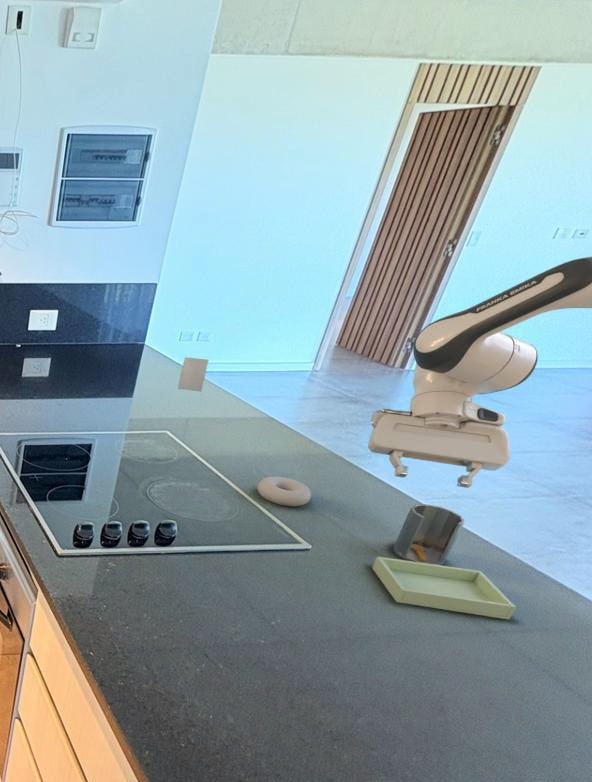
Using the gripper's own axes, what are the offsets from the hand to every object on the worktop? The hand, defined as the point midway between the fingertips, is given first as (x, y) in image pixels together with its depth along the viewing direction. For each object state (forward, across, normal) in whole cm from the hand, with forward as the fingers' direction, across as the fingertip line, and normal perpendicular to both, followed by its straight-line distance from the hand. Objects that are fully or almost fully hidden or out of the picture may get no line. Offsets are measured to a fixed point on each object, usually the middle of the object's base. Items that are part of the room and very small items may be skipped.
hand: (431, 481), depth 115 cm
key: (+14, 0, +2) cm, 14 cm away
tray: (+23, 0, -6) cm, 24 cm away
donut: (+4, -21, +13) cm, 25 cm away
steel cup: (+14, 0, +2) cm, 14 cm away
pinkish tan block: (-47, -42, +64) cm, 90 cm away
